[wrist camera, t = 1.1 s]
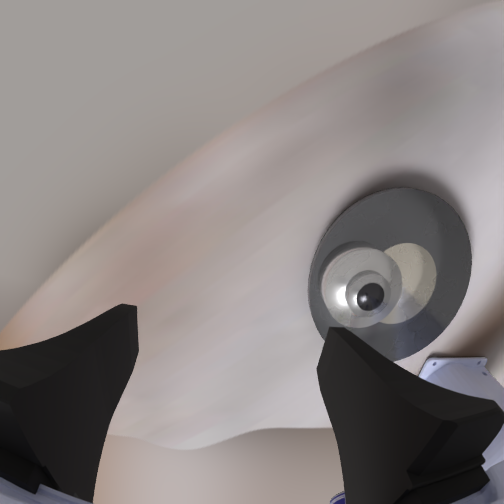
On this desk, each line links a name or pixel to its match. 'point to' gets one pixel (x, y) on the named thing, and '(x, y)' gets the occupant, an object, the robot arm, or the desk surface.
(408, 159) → the desk surface
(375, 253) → the cover
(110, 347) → the robot arm
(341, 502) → the energy drink
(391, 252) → the turntable
